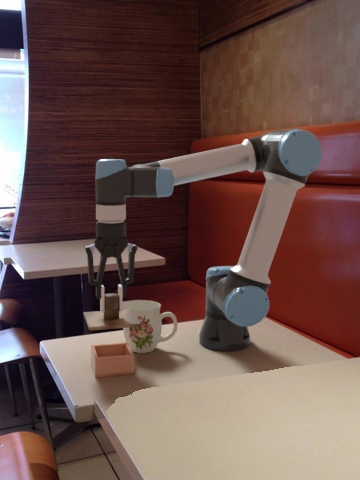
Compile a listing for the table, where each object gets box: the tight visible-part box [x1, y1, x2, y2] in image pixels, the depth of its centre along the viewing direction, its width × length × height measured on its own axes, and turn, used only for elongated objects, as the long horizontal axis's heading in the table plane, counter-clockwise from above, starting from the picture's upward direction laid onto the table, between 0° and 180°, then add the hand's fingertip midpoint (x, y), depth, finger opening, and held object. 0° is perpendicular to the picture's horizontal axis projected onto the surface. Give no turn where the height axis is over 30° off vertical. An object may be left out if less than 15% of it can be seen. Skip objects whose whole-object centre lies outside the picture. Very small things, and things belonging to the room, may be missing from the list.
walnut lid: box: [82, 292, 141, 331], centre depth 153 cm, size 13×13×7 cm
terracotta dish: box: [90, 342, 135, 378], centre depth 155 cm, size 10×10×5 cm
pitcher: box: [122, 299, 178, 354], centre depth 169 cm, size 11×18×14 cm, turn 92°
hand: (111, 310), depth 153 cm, fingers closed on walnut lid, 4 cm apart
